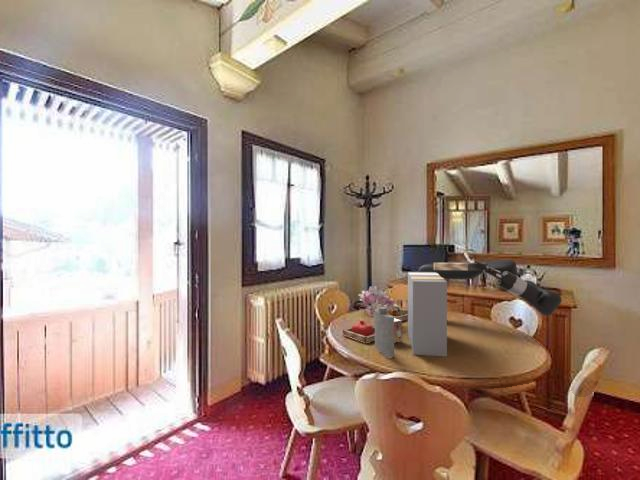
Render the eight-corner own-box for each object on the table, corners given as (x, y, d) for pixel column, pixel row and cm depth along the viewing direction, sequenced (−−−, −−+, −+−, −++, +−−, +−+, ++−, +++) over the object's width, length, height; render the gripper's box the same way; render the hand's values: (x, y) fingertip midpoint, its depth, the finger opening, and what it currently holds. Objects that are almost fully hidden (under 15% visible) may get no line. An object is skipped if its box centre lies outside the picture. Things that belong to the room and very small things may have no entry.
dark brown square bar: (485, 269, 150) (485, 263, 150) (487, 270, 147) (487, 263, 147) (433, 269, 154) (433, 262, 154) (434, 270, 151) (434, 263, 151)
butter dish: (346, 336, 173) (346, 319, 173) (361, 331, 181) (361, 316, 180) (362, 341, 164) (362, 324, 164) (378, 336, 172) (378, 320, 171)
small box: (389, 344, 159) (389, 322, 159) (381, 341, 164) (381, 319, 164) (402, 341, 163) (402, 320, 163) (394, 338, 168) (394, 317, 168)
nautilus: (408, 321, 200) (383, 324, 198) (395, 310, 221) (373, 313, 219) (407, 308, 199) (383, 311, 197) (395, 299, 220) (372, 301, 218)
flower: (412, 326, 183) (400, 282, 193) (382, 329, 170) (371, 282, 180) (387, 334, 198) (376, 293, 207) (358, 337, 185) (348, 293, 195)
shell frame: (363, 314, 215) (363, 309, 215) (383, 309, 228) (383, 305, 228) (397, 323, 195) (397, 317, 195) (417, 316, 208) (417, 312, 208)
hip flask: (395, 358, 143) (395, 311, 142) (386, 359, 142) (386, 311, 141) (380, 345, 158) (379, 303, 158) (372, 346, 157) (371, 303, 157)
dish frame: (341, 335, 173) (341, 329, 173) (363, 329, 184) (363, 323, 184) (366, 344, 160) (366, 338, 160) (388, 336, 171) (388, 331, 170)
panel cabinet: (435, 333, 175) (435, 271, 174) (446, 356, 144) (447, 281, 143) (407, 332, 178) (407, 271, 177) (413, 354, 147) (412, 280, 146)
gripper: (510, 273, 153) (475, 254, 156) (523, 278, 139) (484, 257, 142) (501, 287, 154) (466, 268, 156) (513, 293, 140) (474, 272, 143)
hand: (475, 263), depth 149 cm, fingers closed on dark brown square bar, 3 cm apart
